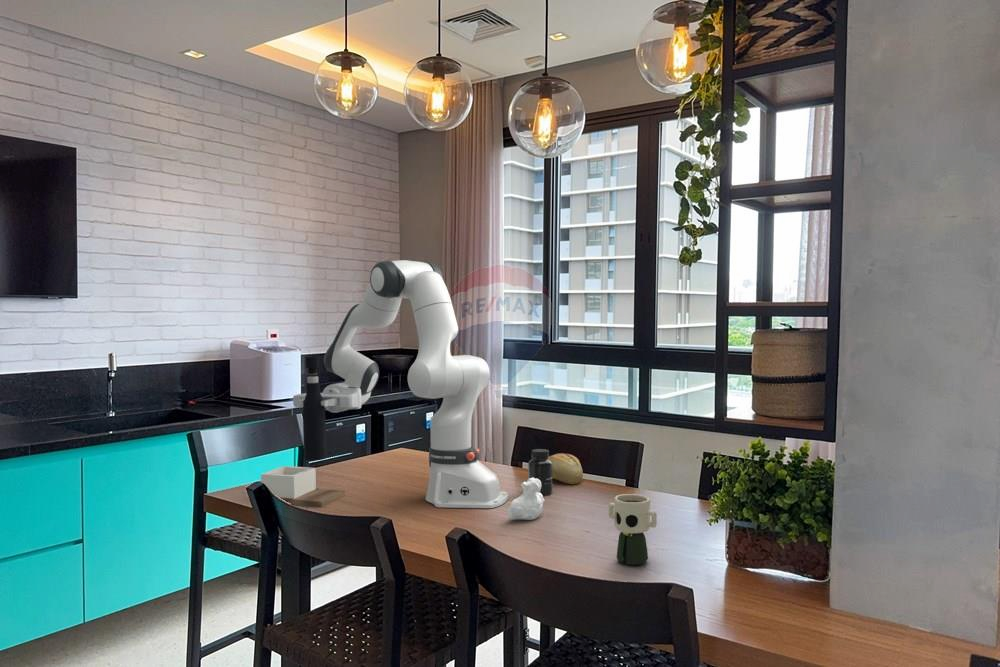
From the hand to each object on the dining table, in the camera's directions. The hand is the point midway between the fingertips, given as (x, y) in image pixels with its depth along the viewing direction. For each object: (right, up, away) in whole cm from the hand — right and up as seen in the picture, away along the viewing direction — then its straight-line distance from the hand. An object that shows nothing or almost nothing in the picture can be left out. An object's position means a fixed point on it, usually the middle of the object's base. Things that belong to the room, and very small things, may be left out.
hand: (312, 403), depth 204 cm
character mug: (+82, -26, -63) cm, 106 cm away
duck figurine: (+62, -25, -32) cm, 74 cm away
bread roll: (+74, -24, +6) cm, 78 cm away
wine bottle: (+1, -16, +1) cm, 17 cm away
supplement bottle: (+66, -24, -8) cm, 71 cm away
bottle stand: (0, -25, -12) cm, 28 cm away
